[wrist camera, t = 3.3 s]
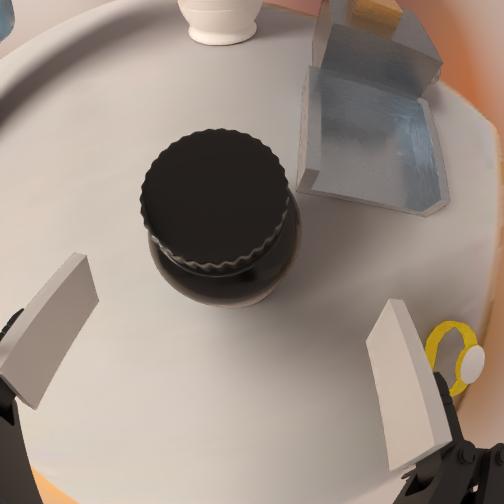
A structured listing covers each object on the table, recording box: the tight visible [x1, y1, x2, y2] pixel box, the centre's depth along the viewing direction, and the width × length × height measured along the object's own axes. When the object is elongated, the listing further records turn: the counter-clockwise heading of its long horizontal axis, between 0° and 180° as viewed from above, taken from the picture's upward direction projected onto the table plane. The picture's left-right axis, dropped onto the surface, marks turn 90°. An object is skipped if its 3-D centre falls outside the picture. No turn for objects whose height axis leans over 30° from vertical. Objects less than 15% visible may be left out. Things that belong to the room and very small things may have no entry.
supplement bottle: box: [140, 128, 302, 309], centre depth 14 cm, size 7×7×12 cm
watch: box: [425, 320, 485, 398], centre depth 16 cm, size 6×3×6 cm, turn 167°
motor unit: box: [296, 0, 450, 217], centre depth 18 cm, size 14×21×11 cm, turn 173°
